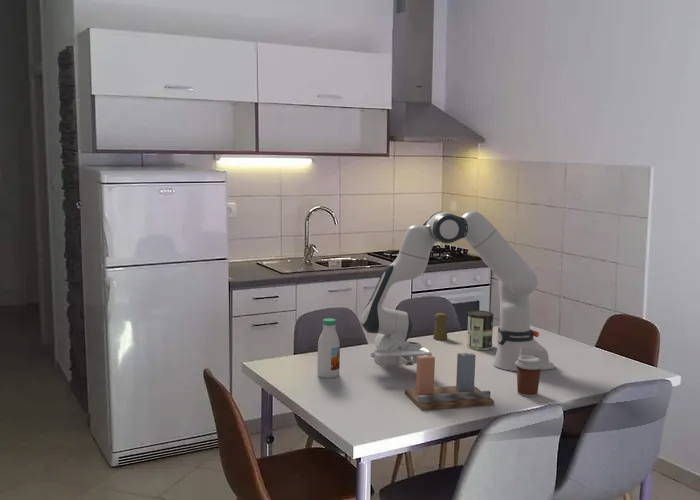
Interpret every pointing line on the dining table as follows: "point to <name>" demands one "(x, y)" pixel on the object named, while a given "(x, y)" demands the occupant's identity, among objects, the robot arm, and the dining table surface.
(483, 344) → the coffee can
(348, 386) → the dining table surface
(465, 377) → the tile two
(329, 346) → the milk bottle
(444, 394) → the board
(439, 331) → the pepper mill
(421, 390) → the tile one
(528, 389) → the coffee cup
